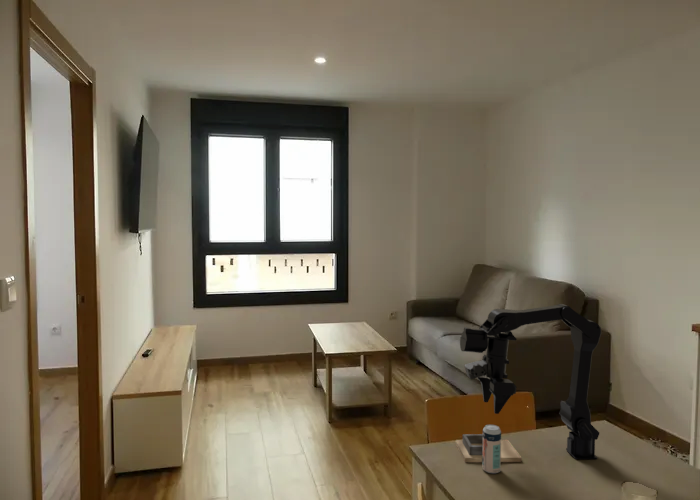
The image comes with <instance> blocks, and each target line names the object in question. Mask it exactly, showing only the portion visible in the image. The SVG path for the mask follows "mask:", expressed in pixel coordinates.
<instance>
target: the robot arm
mask: <svg viewBox="0 0 700 500" xmlns="http://www.w3.org/2000/svg"><path fill="white" fill-rule="evenodd" d="M554 321H555V322H556V321H562V322H563V323H564V324H565V325H566V326H568V327H569V328H570V339H571V341H572V345H573V348H574V350H573V358H572V359H573V360H572V370H571V374H570V376H571V378H570V384H569V385H570V386H569V394H568V397H567V399H566V400H560V410H559V412H558V414H559V415H560V418H561V421H562V422H563V423H564V424H565V426H566V427H567V429H568V430H570V431H568V437H567V440H566V442H567V443H566V448H565V450H566V452H568V454H570V455H571V456H572V458H574V460H598V456H597V455H596V454H595V452H596V440H598V438H599V436H600V431H599V430H598V429H597V428H595V427H594V425H593V424H592V420H591V419H592V417H591V410H590V407H589V402H588V396H589V395H588V393H589V387H590V385H589V384H590V377H591V376H590V375H591V368H592V360H593V359H592V357H593V352H594V350H596V348H597V346H598V344H599V342H600V339H601V335H602V327H601V325H599V324H598V322H595V321H593V320H590V319H587V318H586V317H584V316H582V315H581V314H580V313H578V312H577V311H575V310H574V309H573V308H572V307H571V306H569V305H566V304H563V303H558V304H554V305H548V306H542V307H533V308H526V309H520V310H517V309H508V308H507V309H506V308H494V309H492V310H491V311H489V313H488V315H487V319H486V320H485V321H484V322H483V323H482V324H481V325H480V326H479V327H478V328H471V327H467V326H466V327H465V326H464V327H463V331H462V333H461V335H460V339H459V348H460V350H461V352H466V353H477V354H483V353H484V352H485V354H483V355H482V358H481V359H482V360H476V361H472V362H469V363H465V364H464V370H465V373H466V376H467V377H468V378H469V380H475V379H477V380H478V381H479V382H480V385H481V386H480V387H481V392H482V400H483V402H484V403H488V402H489V400H490V398H491V396H492V395H493V412H494V413H493V414H496V415H499V414H500V412H501V411H502V409H503V408H504V407H505V405H506V403H507V402H508V400H510V398H512V396H514V395H515V394H517V386H516V384H515V383H514V382H513V381H512V380H510V379H508V374H507V372H506V370H507V365H509V364H510V360H509V359H508V350H509V341H513V342H515V341H517V337H515V335H514V333H513V332H512V331H514V330H518V329H519V328H521V327H523V326H526V325H532V324H539V323H546V322H554Z"/></svg>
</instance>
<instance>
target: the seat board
mask: <svg viewBox="0 0 700 500" xmlns="http://www.w3.org/2000/svg"><path fill="white" fill-rule="evenodd" d="M455 445H456V448H457V449H458V452H459V453H460V455H461V458H462V459H463V461H464V462H465V463H482V460H483V433H479V434H478V433H477V434H475V433H471V434H470V433H468V434H465V433H464V434H462V439H456V440H455ZM521 462H522V456H521V455H520V453H519V452H518V450H516V448H515V447H514V446H513V445H512V443H511V442H510V441H509V439H501V463H521Z"/></svg>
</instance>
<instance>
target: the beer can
mask: <svg viewBox="0 0 700 500" xmlns="http://www.w3.org/2000/svg"><path fill="white" fill-rule="evenodd" d="M482 434H483V460H482V462H481V463H482V465H481V466H482V467H481V468H482V470H483V471H484V472H486V473H488V474H492V475H495V474H498V473H500V472H501V470H502V467H501V466H502V465H501V464H502V462H501V440H502V430H501V428H500V426H498V425H496V424H486V425H484V427H483V429H482Z"/></svg>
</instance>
